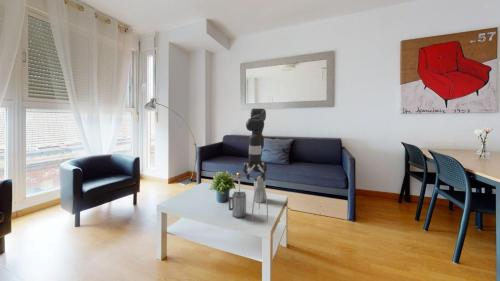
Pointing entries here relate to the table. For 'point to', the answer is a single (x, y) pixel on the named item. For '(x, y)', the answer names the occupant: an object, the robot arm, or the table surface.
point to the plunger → (239, 175)
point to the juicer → (259, 186)
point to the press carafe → (238, 204)
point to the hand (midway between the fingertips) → (255, 178)
